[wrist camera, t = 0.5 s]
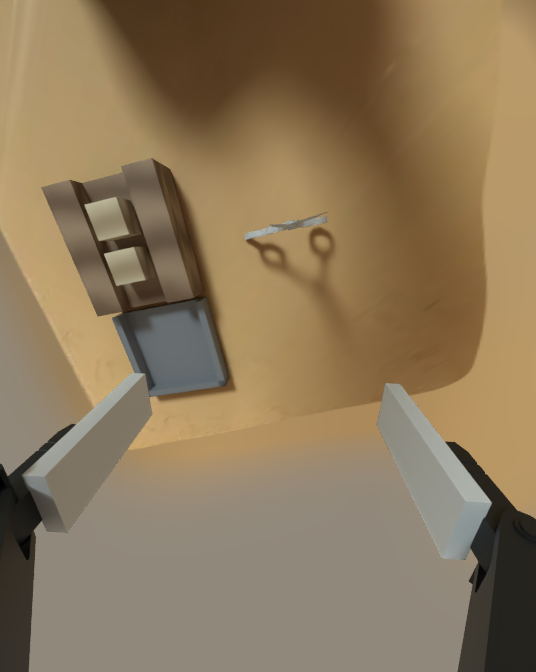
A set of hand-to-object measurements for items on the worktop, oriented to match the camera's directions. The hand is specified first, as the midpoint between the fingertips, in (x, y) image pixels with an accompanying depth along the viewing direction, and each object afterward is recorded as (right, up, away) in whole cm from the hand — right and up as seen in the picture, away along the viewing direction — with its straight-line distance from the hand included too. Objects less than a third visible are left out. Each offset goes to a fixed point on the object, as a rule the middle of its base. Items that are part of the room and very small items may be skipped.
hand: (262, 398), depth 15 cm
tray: (-14, +2, +28) cm, 32 cm away
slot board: (-18, +16, +23) cm, 33 cm away
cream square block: (-18, +18, +19) cm, 32 cm away
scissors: (+2, +18, +22) cm, 28 cm away
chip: (-17, +13, +21) cm, 30 cm away
